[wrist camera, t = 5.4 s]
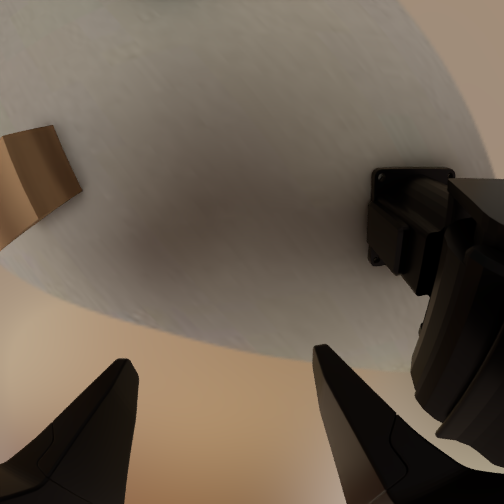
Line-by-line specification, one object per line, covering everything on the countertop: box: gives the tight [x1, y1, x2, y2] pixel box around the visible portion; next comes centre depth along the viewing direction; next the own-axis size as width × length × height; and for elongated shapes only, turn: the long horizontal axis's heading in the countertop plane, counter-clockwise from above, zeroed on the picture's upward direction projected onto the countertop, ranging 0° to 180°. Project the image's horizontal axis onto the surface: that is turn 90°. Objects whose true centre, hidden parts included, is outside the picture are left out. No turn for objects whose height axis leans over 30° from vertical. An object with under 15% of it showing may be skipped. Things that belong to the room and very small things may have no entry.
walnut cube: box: [0, 125, 82, 251], centre depth 13 cm, size 5×5×5 cm
